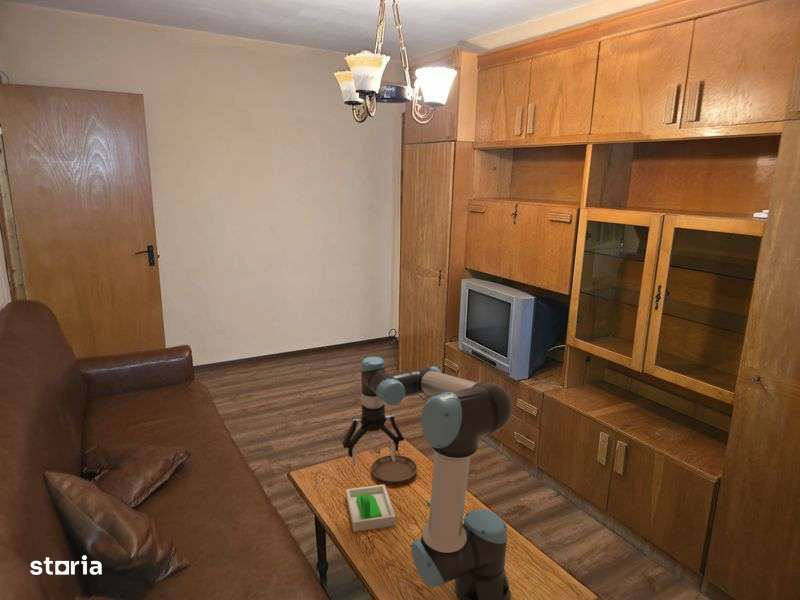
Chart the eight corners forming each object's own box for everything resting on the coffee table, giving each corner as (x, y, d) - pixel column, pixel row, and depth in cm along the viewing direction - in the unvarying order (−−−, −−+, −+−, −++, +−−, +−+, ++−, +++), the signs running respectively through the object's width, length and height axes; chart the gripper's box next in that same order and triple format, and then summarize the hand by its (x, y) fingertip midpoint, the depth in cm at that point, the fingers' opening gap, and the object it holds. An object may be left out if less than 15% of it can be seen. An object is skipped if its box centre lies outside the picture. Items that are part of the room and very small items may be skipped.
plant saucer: (364, 482, 194) (364, 475, 193) (379, 458, 210) (379, 451, 209) (409, 491, 189) (409, 484, 188) (421, 465, 205) (422, 459, 204)
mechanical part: (381, 519, 172) (381, 499, 170) (364, 523, 170) (364, 502, 168) (373, 498, 183) (373, 478, 181) (356, 501, 181) (356, 481, 179)
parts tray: (395, 525, 171) (395, 516, 170) (353, 531, 168) (353, 522, 167) (384, 492, 188) (384, 484, 187) (346, 497, 184) (345, 489, 184)
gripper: (407, 395, 174) (406, 451, 179) (333, 402, 168) (334, 460, 173) (413, 405, 167) (412, 463, 172) (336, 413, 161) (337, 473, 166)
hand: (373, 462), depth 173 cm, fingers open, 13 cm apart
